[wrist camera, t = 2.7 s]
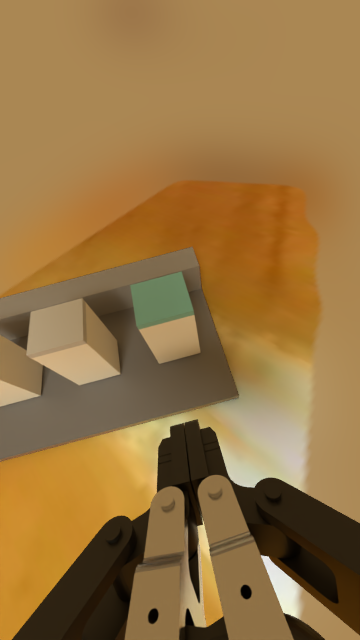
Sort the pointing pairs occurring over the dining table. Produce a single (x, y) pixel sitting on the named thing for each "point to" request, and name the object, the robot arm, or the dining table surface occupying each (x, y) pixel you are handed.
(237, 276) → the dining table surface
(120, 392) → the grey base
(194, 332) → the beige and green block
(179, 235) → the dining table surface
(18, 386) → the beige and orange block
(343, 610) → the robot arm
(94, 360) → the beige tall block
